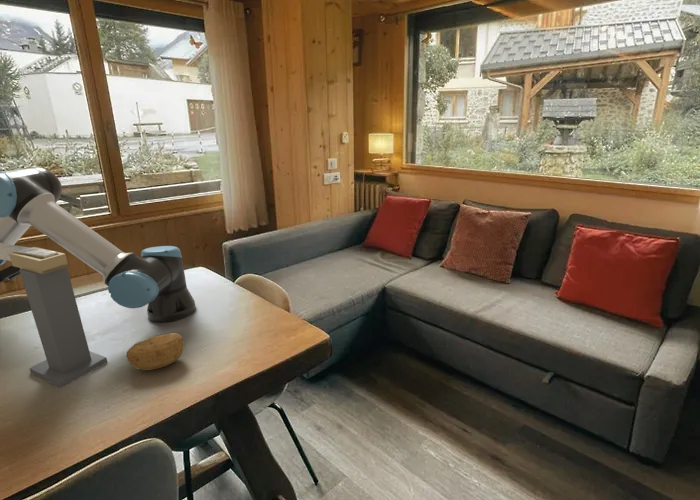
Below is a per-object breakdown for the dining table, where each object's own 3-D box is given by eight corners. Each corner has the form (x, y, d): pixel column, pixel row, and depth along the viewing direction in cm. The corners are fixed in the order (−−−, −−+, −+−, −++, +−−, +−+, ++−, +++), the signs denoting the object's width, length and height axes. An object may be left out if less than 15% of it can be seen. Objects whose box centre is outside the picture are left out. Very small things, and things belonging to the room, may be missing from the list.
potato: (129, 364, 110) (123, 338, 108) (184, 349, 117) (179, 324, 114) (130, 383, 102) (124, 356, 100) (189, 366, 109) (185, 340, 106)
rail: (60, 263, 99) (57, 251, 98) (47, 267, 97) (44, 255, 96) (3, 253, 108) (0, 243, 107) (-10, 257, 105) (-14, 246, 104)
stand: (107, 362, 111) (79, 249, 101) (61, 387, 101) (24, 265, 91) (77, 350, 118) (47, 243, 107) (30, 373, 108) (-7, 257, 97)
